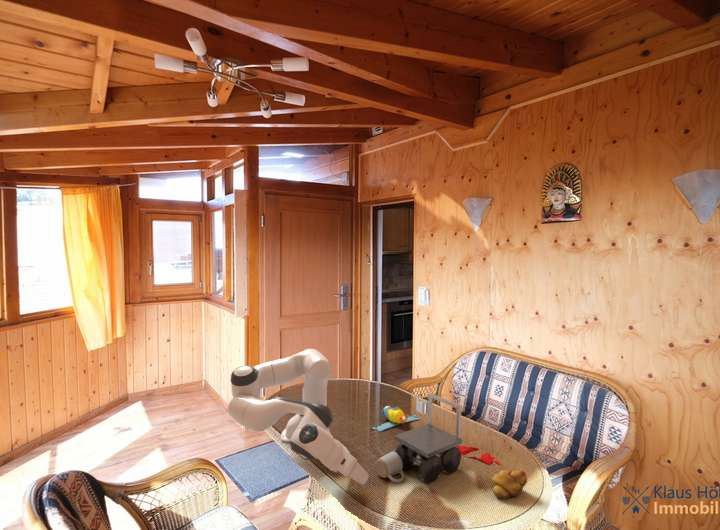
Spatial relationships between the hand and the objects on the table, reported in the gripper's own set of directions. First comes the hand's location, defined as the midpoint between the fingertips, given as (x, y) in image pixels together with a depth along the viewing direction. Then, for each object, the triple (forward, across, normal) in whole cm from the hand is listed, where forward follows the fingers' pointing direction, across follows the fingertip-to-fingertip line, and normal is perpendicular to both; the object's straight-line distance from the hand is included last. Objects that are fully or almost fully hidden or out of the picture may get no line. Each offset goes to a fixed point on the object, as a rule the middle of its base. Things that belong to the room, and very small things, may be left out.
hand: (357, 475), depth 149 cm
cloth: (+42, +10, +34) cm, 55 cm away
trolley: (+24, +6, +18) cm, 31 cm away
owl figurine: (+38, -34, +30) cm, 59 cm away
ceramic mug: (+14, +1, +7) cm, 16 cm away
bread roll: (+32, +34, +26) cm, 53 cm away
